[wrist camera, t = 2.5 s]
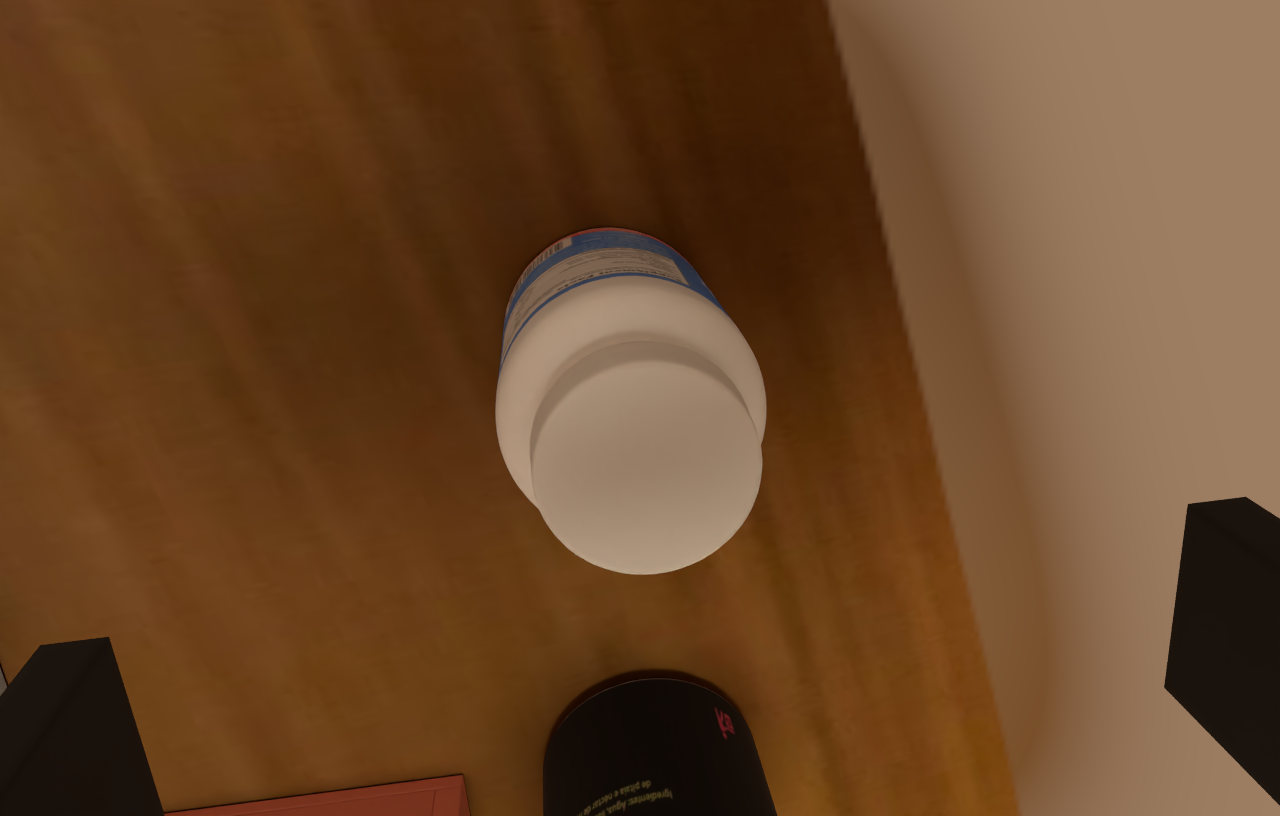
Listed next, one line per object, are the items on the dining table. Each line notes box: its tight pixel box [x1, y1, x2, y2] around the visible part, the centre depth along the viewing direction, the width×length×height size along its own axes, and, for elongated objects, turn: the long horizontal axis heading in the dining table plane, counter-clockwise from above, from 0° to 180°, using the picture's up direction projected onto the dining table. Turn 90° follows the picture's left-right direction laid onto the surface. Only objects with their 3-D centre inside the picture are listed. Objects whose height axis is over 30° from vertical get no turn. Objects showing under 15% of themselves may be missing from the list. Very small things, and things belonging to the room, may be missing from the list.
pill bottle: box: [495, 228, 767, 575], centre depth 22 cm, size 6×5×10 cm
